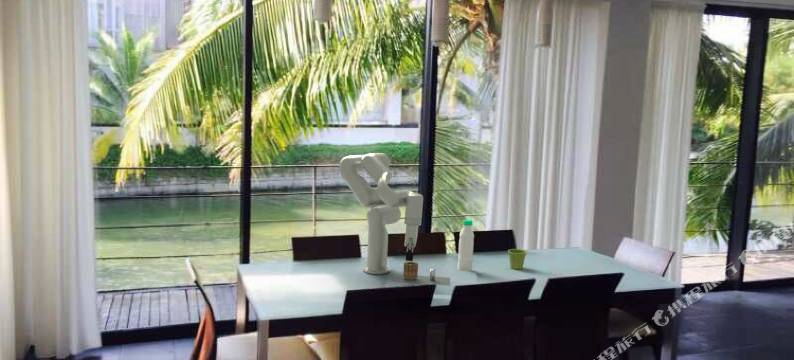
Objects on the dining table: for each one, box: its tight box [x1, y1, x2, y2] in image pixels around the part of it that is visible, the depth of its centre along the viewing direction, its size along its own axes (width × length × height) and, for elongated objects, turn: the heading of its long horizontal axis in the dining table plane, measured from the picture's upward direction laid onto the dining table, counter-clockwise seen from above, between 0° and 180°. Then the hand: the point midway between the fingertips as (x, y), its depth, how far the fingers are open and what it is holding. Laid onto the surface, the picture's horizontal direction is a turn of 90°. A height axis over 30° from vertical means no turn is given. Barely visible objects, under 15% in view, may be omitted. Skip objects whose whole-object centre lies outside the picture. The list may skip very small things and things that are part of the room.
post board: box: [391, 273, 451, 286], centre depth 301 cm, size 12×26×2 cm, turn 85°
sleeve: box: [403, 261, 419, 279], centre depth 301 cm, size 6×6×6 cm
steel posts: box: [405, 264, 437, 281], centre depth 301 cm, size 5×14×7 cm, turn 85°
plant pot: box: [507, 248, 528, 270], centre depth 334 cm, size 9×9×9 cm
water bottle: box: [457, 219, 475, 272], centre depth 324 cm, size 7×7×25 cm
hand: (409, 257), depth 301 cm, fingers open, 9 cm apart
